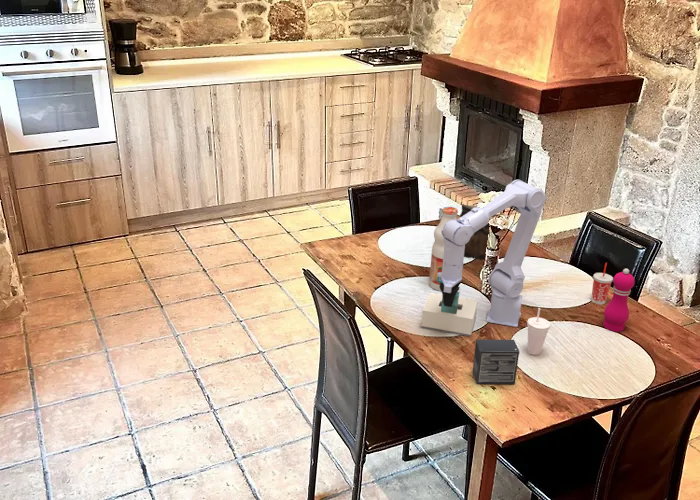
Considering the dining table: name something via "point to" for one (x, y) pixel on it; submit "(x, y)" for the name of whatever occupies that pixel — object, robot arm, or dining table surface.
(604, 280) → the beverage cup
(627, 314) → the pepper mill
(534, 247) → the dining table surface
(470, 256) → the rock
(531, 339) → the smoothie
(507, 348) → the small box
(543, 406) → the dining table surface
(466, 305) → the money box
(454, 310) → the block
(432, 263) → the fruit juice
